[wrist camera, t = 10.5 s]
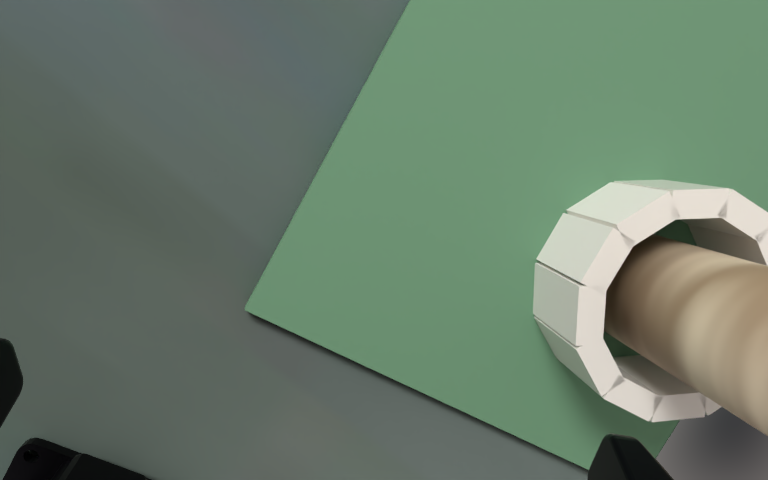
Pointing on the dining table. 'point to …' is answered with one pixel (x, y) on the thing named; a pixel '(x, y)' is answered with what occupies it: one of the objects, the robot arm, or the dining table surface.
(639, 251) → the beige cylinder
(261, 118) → the dining table surface
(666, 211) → the cup
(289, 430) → the dining table surface
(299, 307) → the putting mat
